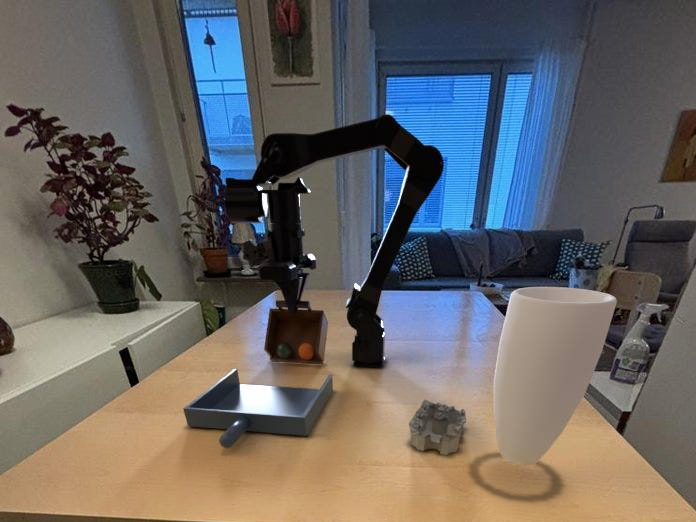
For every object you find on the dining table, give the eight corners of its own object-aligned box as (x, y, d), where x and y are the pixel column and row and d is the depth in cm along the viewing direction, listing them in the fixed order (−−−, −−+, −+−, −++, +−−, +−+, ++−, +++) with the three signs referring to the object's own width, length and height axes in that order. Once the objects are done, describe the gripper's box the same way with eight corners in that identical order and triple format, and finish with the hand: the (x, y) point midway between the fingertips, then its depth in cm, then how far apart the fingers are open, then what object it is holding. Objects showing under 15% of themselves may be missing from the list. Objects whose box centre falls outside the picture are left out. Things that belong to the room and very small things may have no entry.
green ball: (289, 341, 84) (288, 357, 85) (294, 344, 88) (293, 359, 88) (274, 340, 85) (273, 356, 85) (279, 343, 88) (279, 359, 89)
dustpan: (237, 385, 77) (234, 368, 75) (333, 391, 75) (332, 374, 73) (162, 449, 56) (156, 429, 54) (292, 461, 54) (290, 440, 52)
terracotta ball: (312, 342, 84) (311, 358, 84) (316, 345, 87) (315, 361, 88) (296, 341, 84) (296, 357, 85) (301, 344, 88) (300, 360, 88)
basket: (328, 320, 89) (320, 300, 80) (323, 364, 87) (314, 348, 79) (277, 318, 90) (264, 298, 82) (271, 361, 89) (257, 345, 81)
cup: (466, 453, 56) (496, 285, 43) (540, 455, 55) (592, 286, 43) (482, 498, 47) (526, 303, 35) (570, 500, 47) (646, 305, 34)
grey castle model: (455, 458, 55) (459, 432, 52) (403, 448, 57) (405, 423, 54) (467, 426, 63) (471, 402, 60) (421, 418, 65) (423, 395, 63)
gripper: (263, 221, 82) (271, 302, 91) (223, 224, 67) (238, 320, 76) (314, 222, 81) (318, 304, 90) (286, 225, 66) (294, 323, 75)
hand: (293, 312), depth 83 cm, fingers closed on basket
